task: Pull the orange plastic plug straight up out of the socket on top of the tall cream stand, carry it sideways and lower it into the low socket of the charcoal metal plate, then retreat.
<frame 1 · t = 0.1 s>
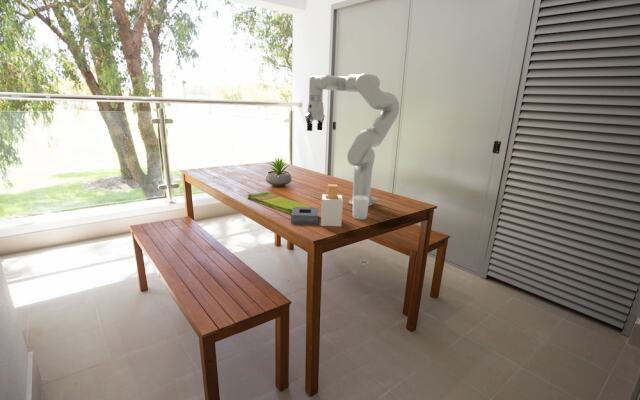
hand: (314, 130, 187), 37 cm above the table, tool pointing down, fingers open, 9 cm apart
white cup: (359, 217, 158), on the table
dish towel: (278, 204, 175), on the table
plug: (331, 204, 147), point 8 cm above the table, touching upper stand
upper stand: (330, 222, 149), on the table
lower socket plate: (305, 219, 152), on the table
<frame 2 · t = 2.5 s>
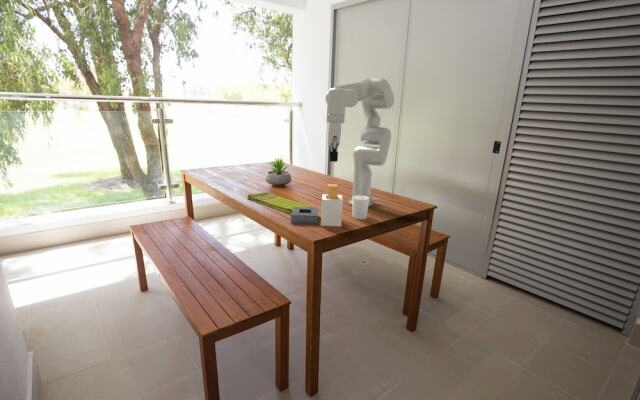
hand: (333, 159, 142), 29 cm above the table, tool pointing down, fingers open, 9 cm apart
nothing on the table moved.
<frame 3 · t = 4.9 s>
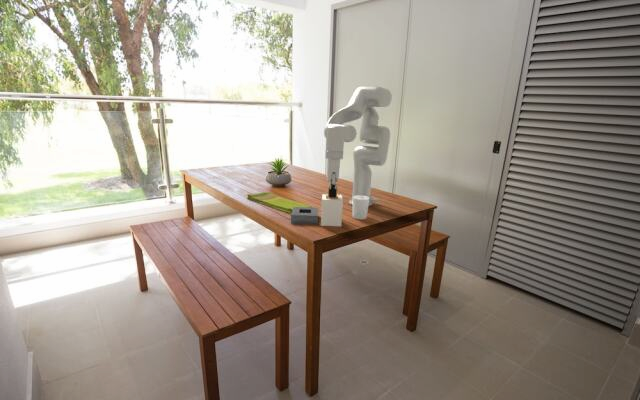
hand: (332, 195, 146), 13 cm above the table, tool pointing down, fingers closed on plug, 4 cm apart
plug: (331, 204, 147), point 9 cm above the table, touching gripper, upper stand
everything else where it was.
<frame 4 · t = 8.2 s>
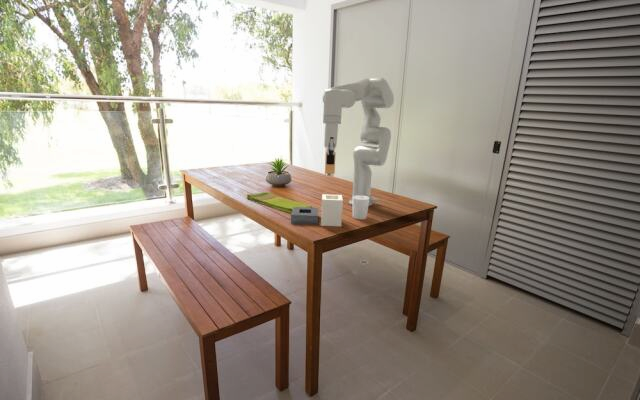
hand: (330, 162, 142), 27 cm above the table, tool pointing down, fingers closed on plug, 4 cm apart
plug: (329, 172, 143), point 23 cm above the table, touching gripper
everything else where it was.
when the fingers open (7 cm above the table, at t = 12.0 s): plug drops 1 cm, resting on lower socket plate.
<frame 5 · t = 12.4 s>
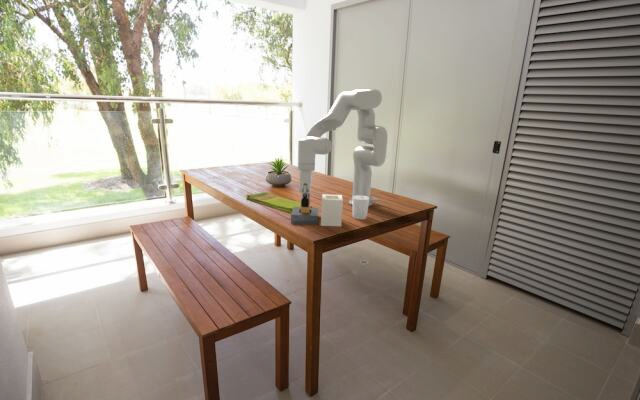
hand: (305, 203, 150), 7 cm above the table, tool pointing down, fingers open, 8 cm apart
plug: (305, 217, 152), point 1 cm above the table, touching lower socket plate
everything else where it was.
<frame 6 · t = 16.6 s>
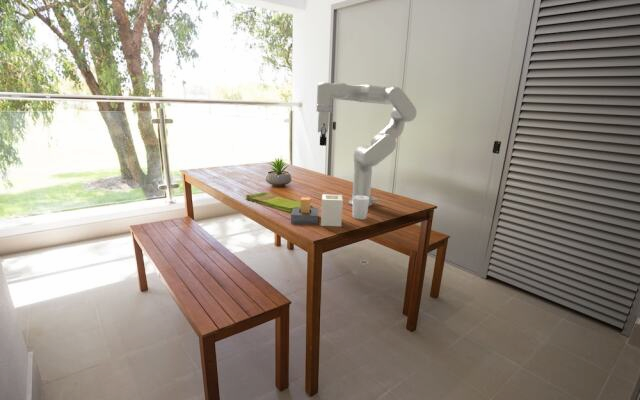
hand: (322, 144, 165), 32 cm above the table, tool pointing down, fingers open, 9 cm apart
nothing on the table moved.
at the end: plug 0.1 cm off-centre on the lower socket plate, point 1.0 cm above the lower socket plate's base; plug tilted 0°; the gripper is holding nothing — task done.
